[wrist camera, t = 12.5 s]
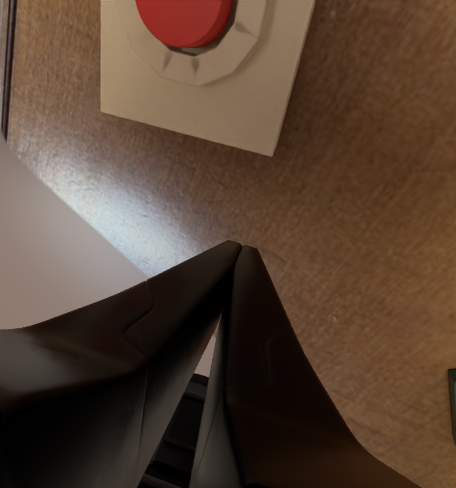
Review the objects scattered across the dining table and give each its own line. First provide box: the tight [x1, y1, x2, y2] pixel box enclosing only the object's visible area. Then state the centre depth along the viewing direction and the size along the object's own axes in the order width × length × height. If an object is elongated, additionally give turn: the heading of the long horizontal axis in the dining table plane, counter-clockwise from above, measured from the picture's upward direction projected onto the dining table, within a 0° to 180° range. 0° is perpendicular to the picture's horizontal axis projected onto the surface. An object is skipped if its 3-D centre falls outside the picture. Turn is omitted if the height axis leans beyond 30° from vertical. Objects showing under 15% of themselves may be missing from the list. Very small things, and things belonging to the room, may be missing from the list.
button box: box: [101, 0, 316, 157], centre depth 16 cm, size 10×12×4 cm
